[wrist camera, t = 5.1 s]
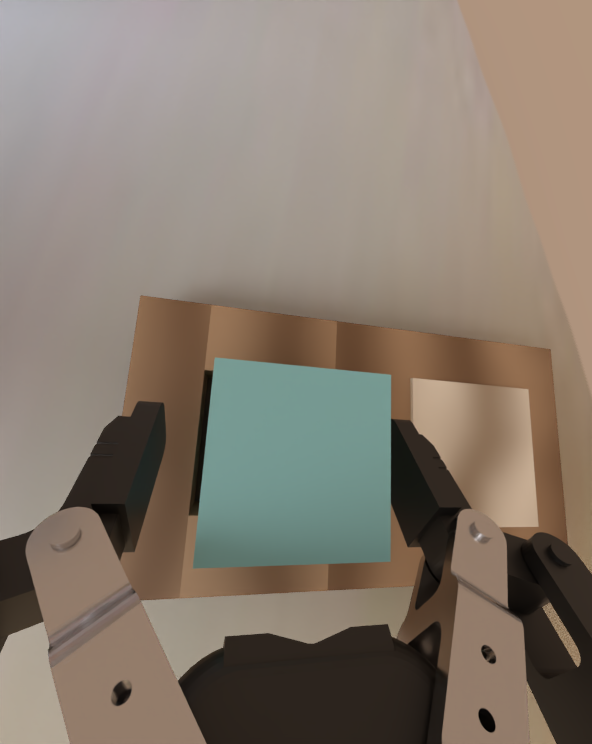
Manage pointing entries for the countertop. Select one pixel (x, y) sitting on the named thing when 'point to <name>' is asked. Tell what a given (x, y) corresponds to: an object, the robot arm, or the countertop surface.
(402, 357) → the puzzle board
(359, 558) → the teal block
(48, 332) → the countertop surface
